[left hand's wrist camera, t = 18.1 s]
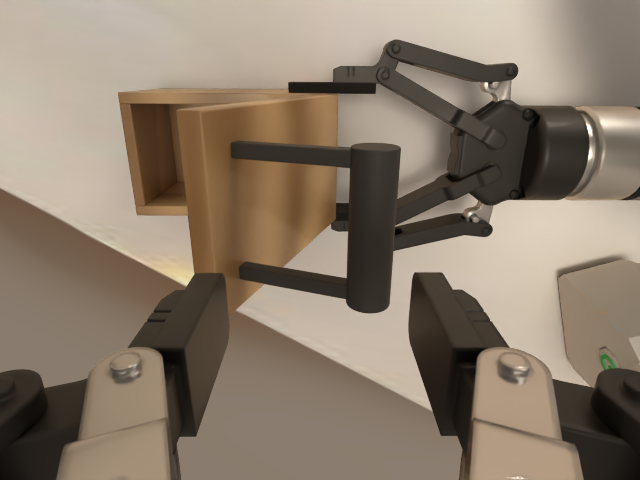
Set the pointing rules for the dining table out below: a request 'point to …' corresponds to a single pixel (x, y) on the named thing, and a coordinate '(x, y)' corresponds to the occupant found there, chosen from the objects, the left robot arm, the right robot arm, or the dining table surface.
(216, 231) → the lid
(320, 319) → the dining table surface
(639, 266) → the electronic device
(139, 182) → the chest
